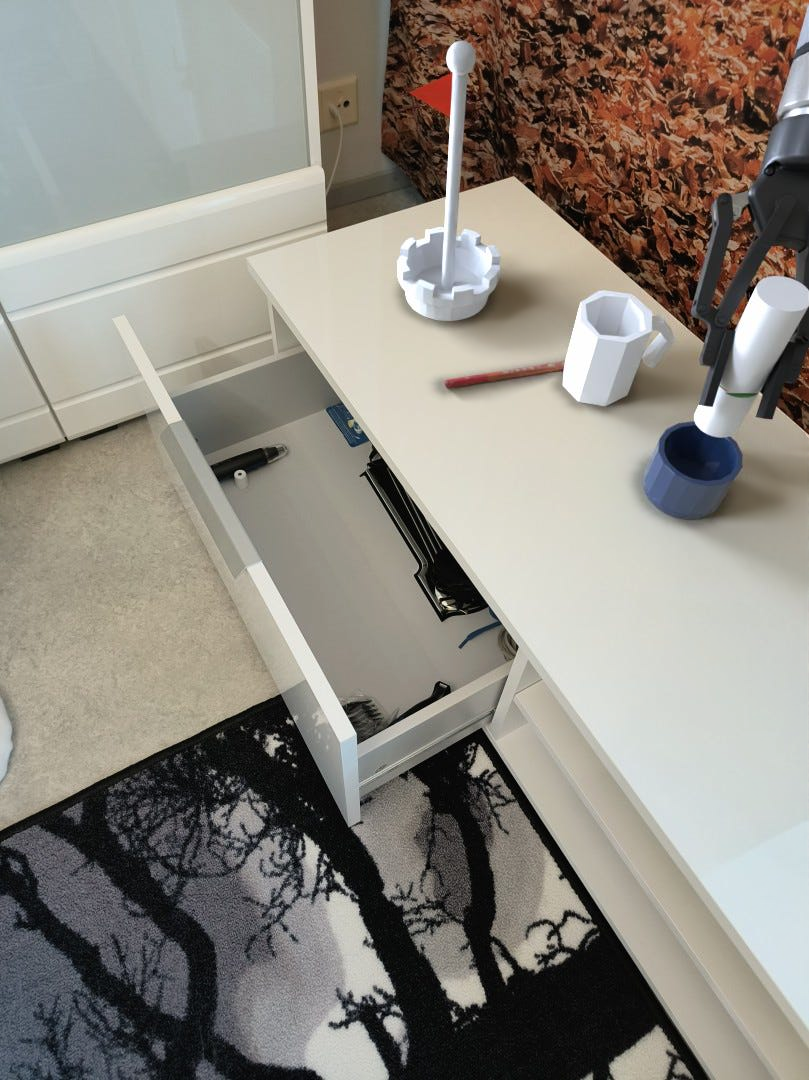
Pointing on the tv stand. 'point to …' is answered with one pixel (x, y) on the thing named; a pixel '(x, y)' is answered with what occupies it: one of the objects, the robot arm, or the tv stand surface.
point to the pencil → (505, 374)
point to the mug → (611, 346)
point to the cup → (691, 471)
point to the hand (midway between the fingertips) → (734, 411)
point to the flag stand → (449, 220)
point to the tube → (754, 352)
